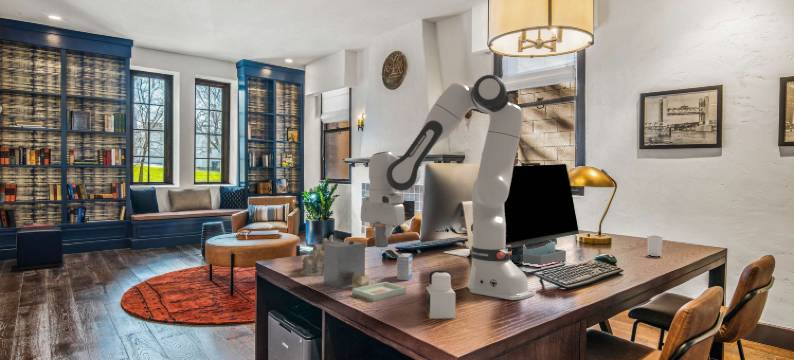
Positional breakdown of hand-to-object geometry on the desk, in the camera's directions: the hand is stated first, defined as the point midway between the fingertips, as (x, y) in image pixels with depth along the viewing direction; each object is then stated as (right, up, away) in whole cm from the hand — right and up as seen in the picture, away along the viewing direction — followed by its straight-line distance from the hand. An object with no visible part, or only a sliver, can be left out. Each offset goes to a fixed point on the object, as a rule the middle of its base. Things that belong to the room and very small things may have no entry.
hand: (381, 236), depth 159 cm
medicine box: (+8, -17, +8) cm, 21 cm away
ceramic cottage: (-26, -17, +19) cm, 36 cm away
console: (-13, -17, -1) cm, 21 cm away
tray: (0, -17, -15) cm, 22 cm away
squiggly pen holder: (+68, -17, +43) cm, 82 cm away
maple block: (-7, -17, -6) cm, 19 cm away
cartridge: (0, -4, 0) cm, 4 cm away
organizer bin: (+69, -17, +40) cm, 82 cm away
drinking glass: (+131, -17, +59) cm, 145 cm away
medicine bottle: (+17, -18, -35) cm, 43 cm away
